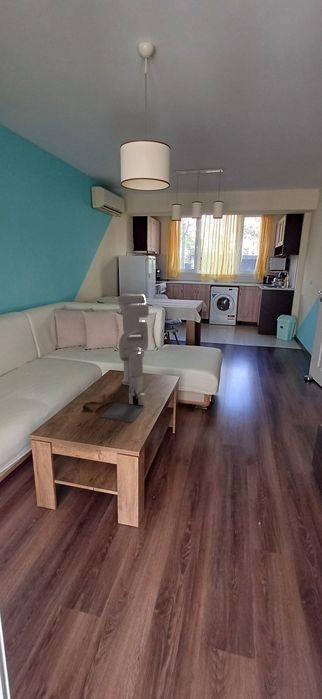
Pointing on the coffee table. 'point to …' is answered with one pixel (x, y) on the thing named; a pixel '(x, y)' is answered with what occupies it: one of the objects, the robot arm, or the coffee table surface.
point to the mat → (122, 412)
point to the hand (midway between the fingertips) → (137, 402)
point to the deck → (140, 398)
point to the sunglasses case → (97, 404)
